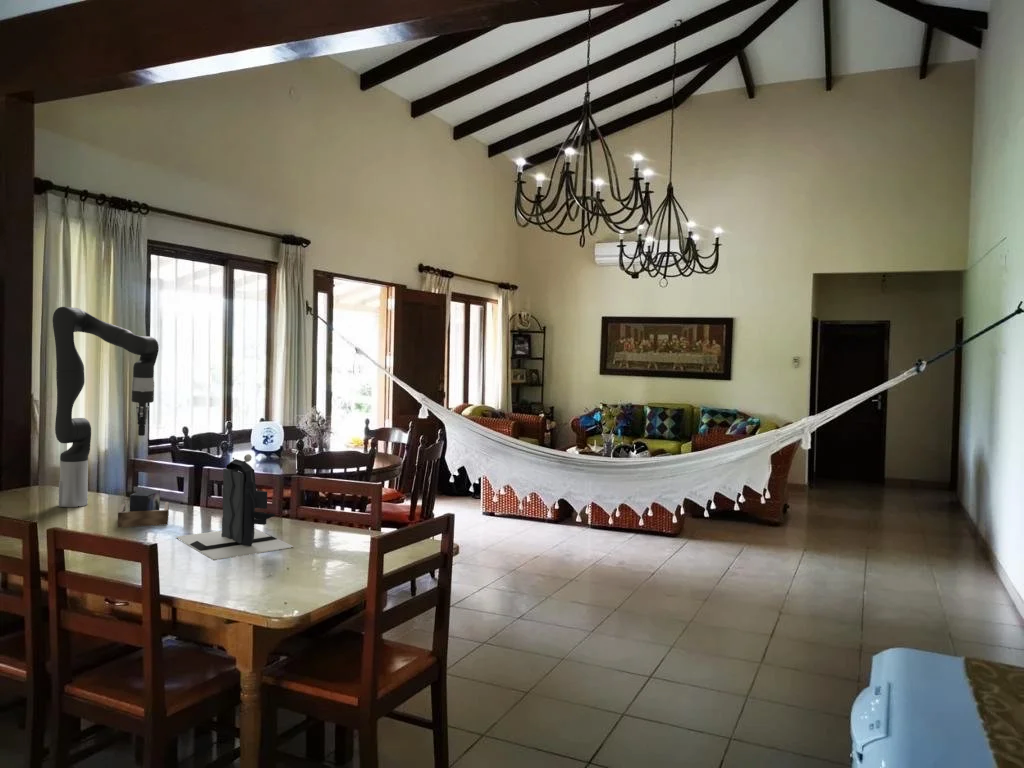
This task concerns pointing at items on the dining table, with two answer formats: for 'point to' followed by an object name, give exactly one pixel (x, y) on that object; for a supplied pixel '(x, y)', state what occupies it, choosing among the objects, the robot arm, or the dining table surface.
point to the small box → (145, 500)
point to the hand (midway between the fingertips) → (141, 435)
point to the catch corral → (143, 517)
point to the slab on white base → (238, 518)
